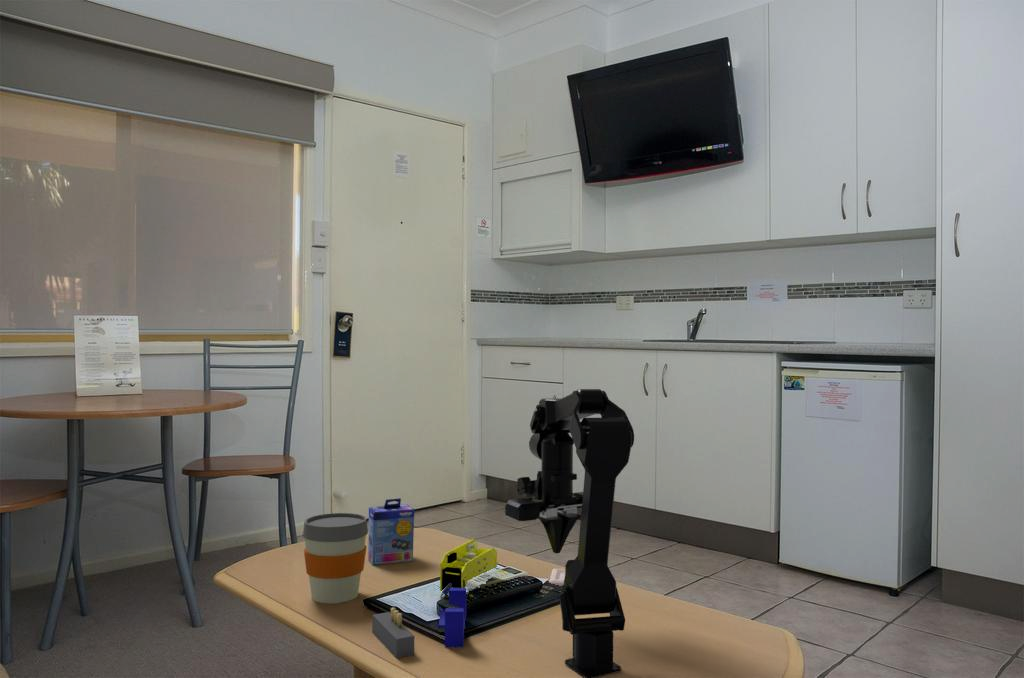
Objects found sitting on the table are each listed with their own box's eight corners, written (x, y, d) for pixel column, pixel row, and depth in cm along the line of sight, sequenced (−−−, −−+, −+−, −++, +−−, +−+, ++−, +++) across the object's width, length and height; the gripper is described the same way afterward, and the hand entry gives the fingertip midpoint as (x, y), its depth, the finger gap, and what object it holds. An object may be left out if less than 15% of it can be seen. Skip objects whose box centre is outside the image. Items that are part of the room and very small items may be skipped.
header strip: (415, 654, 119) (415, 623, 119) (396, 658, 117) (396, 626, 117) (389, 629, 129) (389, 600, 129) (372, 632, 128) (372, 603, 128)
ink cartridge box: (372, 566, 166) (373, 501, 166) (366, 559, 171) (367, 496, 171) (414, 561, 170) (415, 498, 171) (407, 554, 175) (408, 493, 176)
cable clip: (441, 621, 134) (441, 587, 134) (466, 621, 134) (466, 587, 134) (435, 648, 122) (435, 611, 122) (462, 648, 122) (463, 611, 122)
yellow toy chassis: (474, 575, 161) (474, 536, 161) (498, 578, 158) (498, 539, 159) (437, 597, 146) (438, 555, 146) (463, 602, 144) (463, 559, 144)
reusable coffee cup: (319, 611, 138) (319, 530, 138) (291, 593, 147) (292, 518, 147) (378, 597, 146) (379, 521, 146) (349, 581, 155) (349, 509, 155)
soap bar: (548, 592, 150) (549, 580, 150) (552, 578, 159) (552, 567, 160) (575, 594, 150) (575, 582, 150) (577, 580, 159) (577, 568, 159)
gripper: (575, 457, 147) (574, 536, 147) (491, 464, 138) (490, 548, 137) (608, 465, 137) (608, 550, 137) (521, 473, 128) (520, 564, 128)
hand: (556, 552), depth 135 cm, fingers closed
